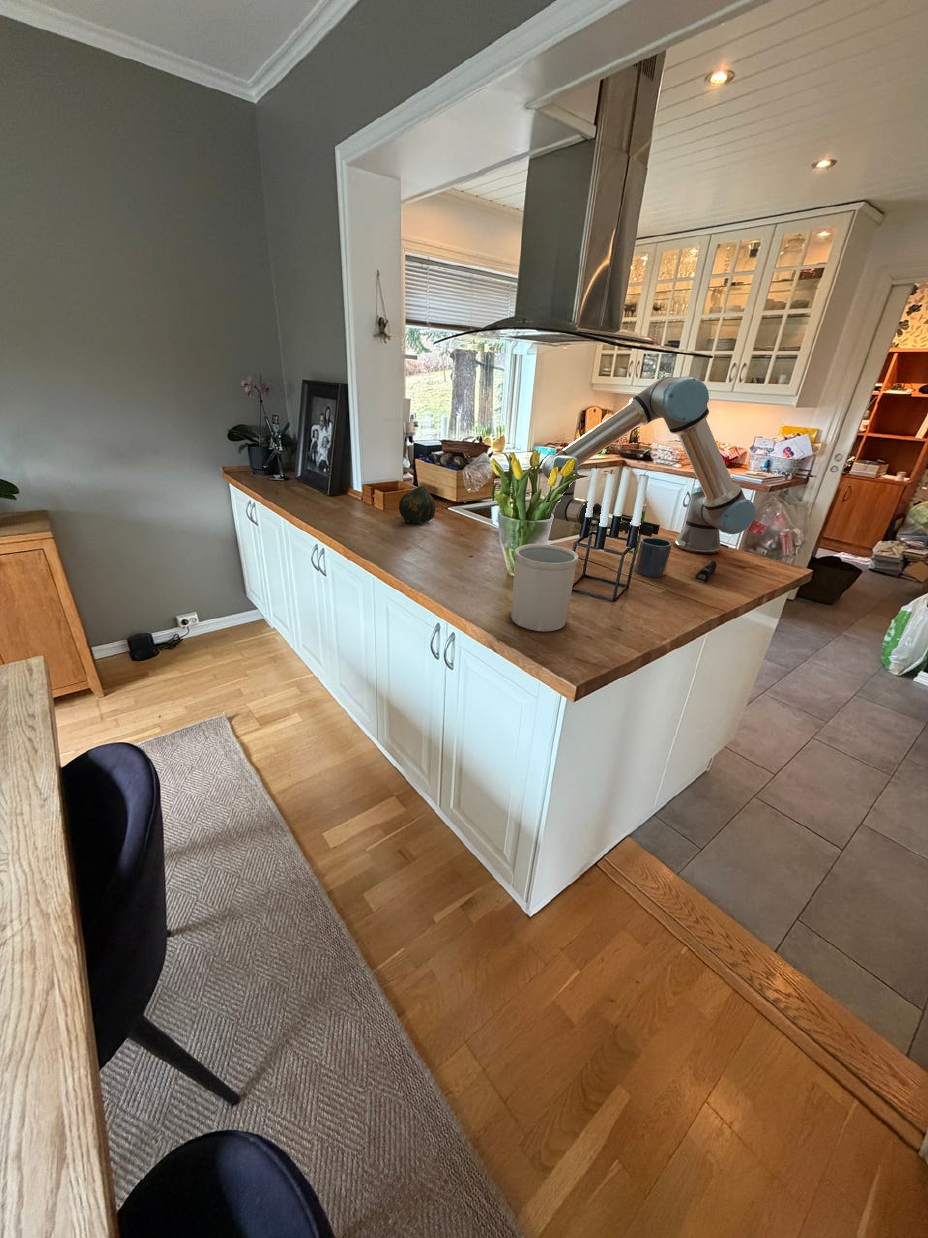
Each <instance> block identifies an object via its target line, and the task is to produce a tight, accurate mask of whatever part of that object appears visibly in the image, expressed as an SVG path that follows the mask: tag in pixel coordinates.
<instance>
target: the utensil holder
mask: <svg viewBox="0 0 928 1238" xmlns="http://www.w3.org/2000/svg"><path fill="white" fill-rule="evenodd" d="M514 559H515V560H514V572H513V584H512V597H511V598H512V599H511V611H510V615H511V617H510V618H511V620H512V622H514V624H515V625H517V626H519V627H521V628H523V629H527V630H529V631H533V632H553V631H557V630H560V629H562V628H563V627H564V626H566V624H567V620H568V615H569V609H570V603H571V598H572V592H573V585H574V580H575V575H576V574H575V573H576V570H577V569H576V568H577V564H578V562H579V554H578V553H577V552H576V551H574V550H572V549H569V548H568V547H567V548H566V547H563V546H559V545H555V544H547V543H529V544H523V545H520V546H518V547H516V548H515V550H514Z"/></svg>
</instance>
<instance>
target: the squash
mask: <svg viewBox="0 0 928 1238" xmlns="http://www.w3.org/2000/svg"><path fill="white" fill-rule="evenodd" d="M398 511H399V515H400V516H401V517H402V519H403V520H404V521H405V522H406V523H408V524H412V523H413V524H418V523H419V522H420V523H424V522H429V521H431V520H433V518H434V517H435V514H436V503H435V500H434V498H433V496H432V495H431V493H430V492H429V490H428V489H427V488H426V486H425V485H420V486H417V487H415V488H413V489H411V490H410V491H408V492H406V493H404V494H403V495H402V497H401V498H400V500H399V504H398Z"/></svg>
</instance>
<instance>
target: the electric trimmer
mask: <svg viewBox="0 0 928 1238" xmlns="http://www.w3.org/2000/svg"><path fill="white" fill-rule="evenodd" d="M716 569H717V561H716V560H711V561H710V562H709V563H708V564H706V565H705V566H703V567H702V568H701V569H700V570H699V571H697V573H696V574H695V580H696V581H698V582H701V583H702V582H703V583H706V582H708V581H709V579H710V576H711V575H712V574H714V573H715V572H716Z"/></svg>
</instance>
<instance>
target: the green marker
mask: <svg viewBox="0 0 928 1238" xmlns="http://www.w3.org/2000/svg"><path fill="white" fill-rule="evenodd" d="M642 504H643V510H642V518H641V524H643V522H644V521H645V516H646V511H647V508H648V504H646V503H642ZM641 536H642V535H641V534H639V536H638V543H637V547H636V551H635V554H634V553H633V551H629V552H627V553H628V554H631V555H633V554H634V555H636V554H638V552H639V548H640V543H641Z"/></svg>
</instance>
